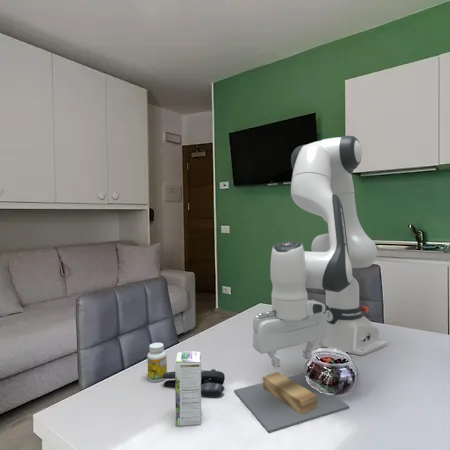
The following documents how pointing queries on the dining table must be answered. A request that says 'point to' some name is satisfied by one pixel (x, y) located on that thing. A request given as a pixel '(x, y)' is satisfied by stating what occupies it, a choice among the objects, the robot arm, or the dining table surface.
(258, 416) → the rubber mat
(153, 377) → the supplement bottle
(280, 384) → the wooden rectangular block
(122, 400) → the dining table surface
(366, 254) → the robot arm
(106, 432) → the dining table surface
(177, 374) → the syrup box
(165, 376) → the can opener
